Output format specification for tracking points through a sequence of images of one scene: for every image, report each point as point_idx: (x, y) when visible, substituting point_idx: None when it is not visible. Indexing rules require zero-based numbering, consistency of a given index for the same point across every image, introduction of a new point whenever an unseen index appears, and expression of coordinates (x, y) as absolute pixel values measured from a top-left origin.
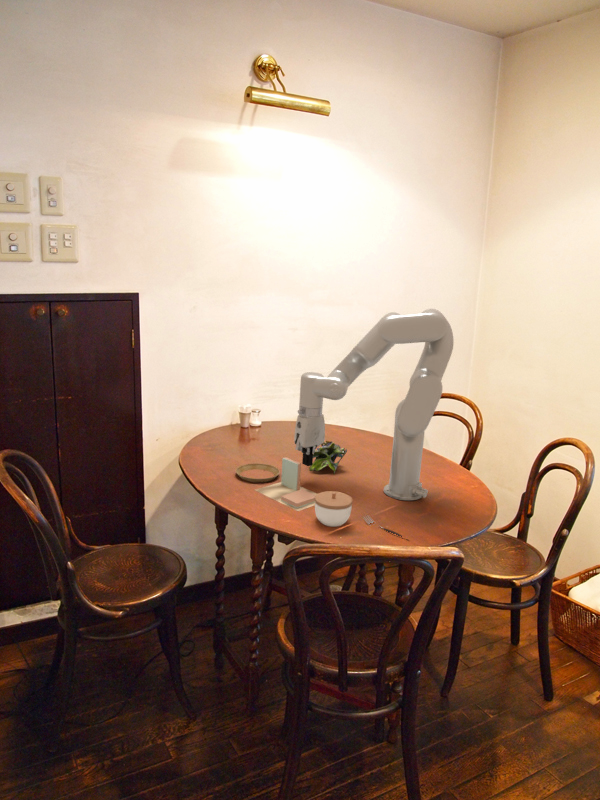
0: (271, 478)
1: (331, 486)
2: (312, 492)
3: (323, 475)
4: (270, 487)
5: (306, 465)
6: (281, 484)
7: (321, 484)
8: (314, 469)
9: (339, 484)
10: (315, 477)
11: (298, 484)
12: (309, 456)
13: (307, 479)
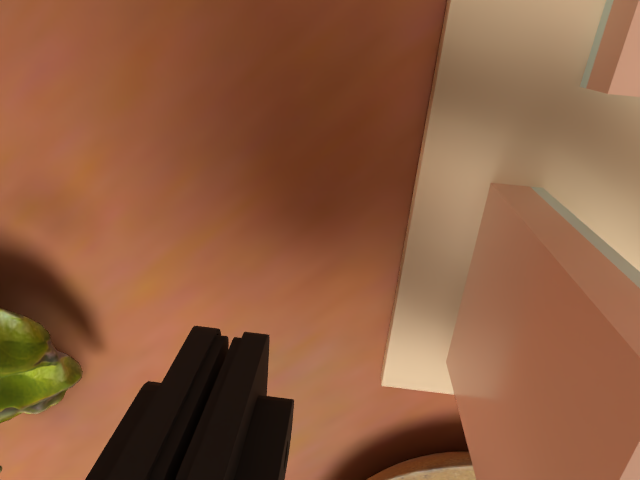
0: None
1: (124, 33)
2: (460, 32)
3: (16, 264)
4: None
5: (267, 372)
6: None
7: (175, 143)
8: (54, 350)
9: (10, 7)
10: (108, 282)
11: (532, 206)
12: (226, 472)
13: (199, 299)
